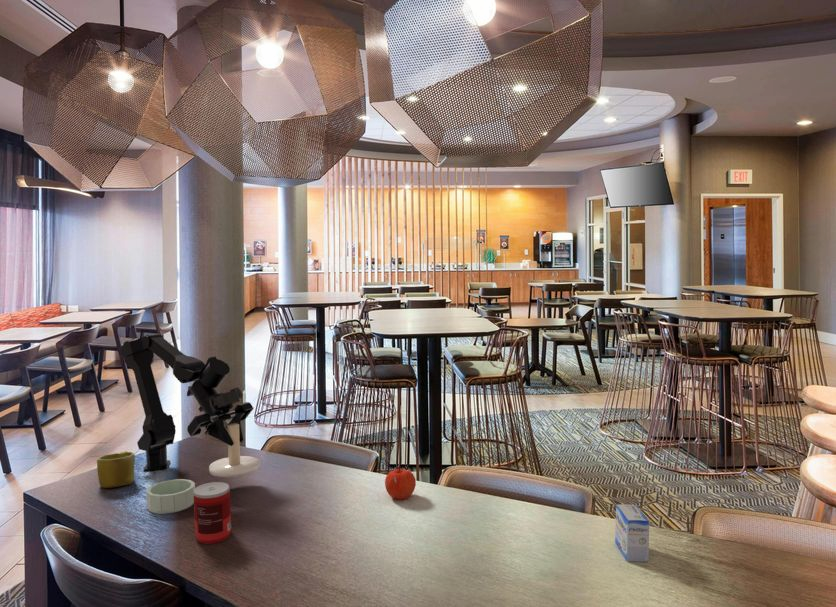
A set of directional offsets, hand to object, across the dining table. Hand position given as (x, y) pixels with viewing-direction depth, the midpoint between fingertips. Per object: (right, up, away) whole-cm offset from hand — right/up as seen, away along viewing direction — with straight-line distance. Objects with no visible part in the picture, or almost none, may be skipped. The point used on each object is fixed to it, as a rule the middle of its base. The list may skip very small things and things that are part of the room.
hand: (237, 443), depth 156 cm
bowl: (-14, -13, -9) cm, 21 cm away
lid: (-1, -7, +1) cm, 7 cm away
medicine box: (+93, -14, -36) cm, 100 cm away
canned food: (+3, -15, -26) cm, 30 cm away
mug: (-36, -13, +8) cm, 39 cm away
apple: (+44, -13, -6) cm, 46 cm away
